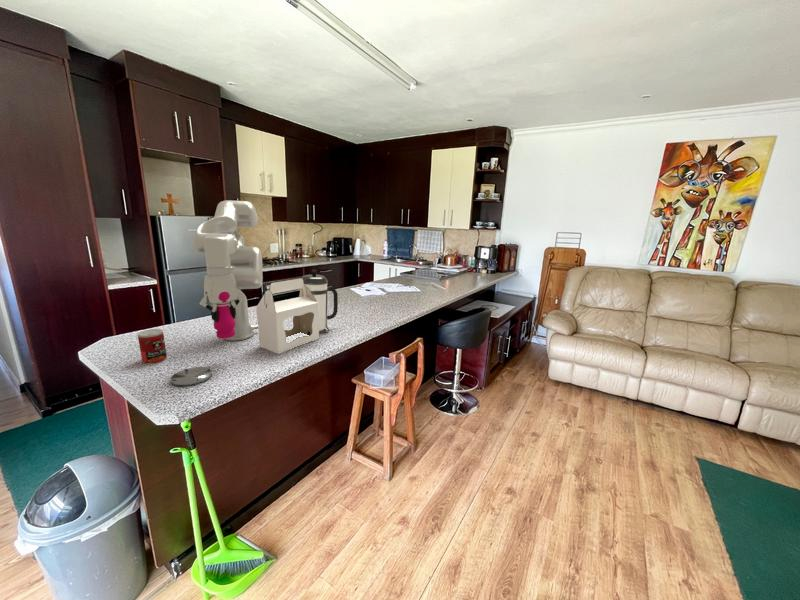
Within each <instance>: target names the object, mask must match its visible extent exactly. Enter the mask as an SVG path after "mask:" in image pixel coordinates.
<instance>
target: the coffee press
mask: <svg viewBox="0 0 800 600" xmlns="http://www.w3.org/2000/svg"><path fill="white" fill-rule="evenodd" d="M301 278H302V279H303V283H304V284H308V288H309V290H310V291H311V293H312V294H313V296H314V297H315V299H316V300H317V302H318V323H319V332H320V331H321V332H322V331H328V332H327V333H329V332H330V328H329V327H328V320H331V319H333V318H335V317H336V315H337V314H338V307H339V306H338V304H339V302H338V300H339V299H338V298H339V297H338V291H337V290H336V289H335V288H334V287H328V283H329V281H328V279H327V278H326V277H325V276H324V275H322V274H317V270H316V269H312V270H311V274H305V275H304V276H302V277H301ZM328 292H331V293H332V294H333V312H331V313H332V314H331V315H328ZM303 328H304V329H305V325H304V326H303ZM326 329H327V330H326ZM307 335H310V332H309V331H308V333H307Z"/></svg>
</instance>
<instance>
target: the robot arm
mask: <svg viewBox="0 0 800 600" xmlns="http://www.w3.org/2000/svg"><path fill="white" fill-rule="evenodd" d="M258 223H259V215H258V212H257V211H256V208H255V206H254V204H253V203H251V202H250V201H247V200H230V199H228V200H226V199H225V200H223V201H222V200H221V201H220V202H219V203H217V206H216V210H215V213H214V217H212V218H210V219H208V220H206V221H203V222H202V223H200V224H199V225H198V226H197V228H196V229H195V230H196V231H195V233H194V235H193V249H194V250H195V252H197V254H198V253H199V254H200V255H204V257H205V265H206V273H207V274H206V275H204V282H203V291H204V292H203V295H204V296H203V297H202V299H201V300H200V302H199V305H201V306H202V307H204V308H206V309H208V310H209V311H210V315H211V320H212V321H213V322H214V321H215V322H218V321H219V320H218V312H217V308H216V307H217V304H218V303H222V301H221V300H219V298H218V297H219V294H220V293H222V292H228V293H229V294H230V298H229V299H228V300H227V302H228V301H230V304H229V309H230V313H231V314H232V316H233V318H234V320H235V323H236V325H235V327H234V328H233V329H234V330H235V335H234V336H233V337H230V338H223V339H224V340H225V341H231V342H232V341H233V342H236V341H238V342H239V341H243V340H248V339H250V338H251V337H253V336H254V330H258V324H250V320H249V308H248V299H247V296H246V295H245V293H244V292H243V291H242V290H253V289H260V288H262V285H263V279H264V276H263V255H262V252H261V250H260V248H259V247H257V246H245V237H244V236H243V235H242V234H241V233H240V232H239V231H238V230H237V228H256V227H257V225H258ZM208 302H209V304H207V303H208Z"/></svg>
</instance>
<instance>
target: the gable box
mask: <svg viewBox="0 0 800 600" xmlns="http://www.w3.org/2000/svg"><path fill="white" fill-rule="evenodd" d="M267 287H268V290H266V291H264V294H263V296H262V298H261V299H260V300H259V302H258V304H257V305H256V317H257V319H256V320H257V325H258V329H257V331H258V346H259V347H260V348H263V349H265V350H268V351H270V352H272V353H276V354H278V353H279V354H282V353H285V352H287V350H288V351H290V350H292V348H293V349H295V348H294V347H296V348H298V347H297V346H299V345H302V344H304V345H306V344H305V343H307V344H309V343H308V342H310V341H313V340H315V341H317V340H316V339H318V338H319V339H320V331H319V323H318V302H317V300H316V299H315V297H314V296H313V294H312V293H311V291H310V290H309V288H308V284H304V283H303V279H302V277H301V278H293V279H287V280H279V281H276V282H275V281H274V282H271V283H270V284H268V285H267ZM295 290H299V295H298V297H296V298H295V297H294V298H290V299H285V300H280V301H276V302H275V300H274V295H275V294H279V293H283V292H290V291H295ZM290 317H293V318H292V324H293V325H292V326H293V327H292V328H291V329H284V325H283V323H284V321H285V320H286V319H287V318H290ZM304 325H305V329H304V328H303V326H304ZM308 331H309V332H310V335H309V336H303V337H298V338H296V339H295V340H293V341H292V342H290V343H286V337H288V336H291V335H294V334H297V333H300V332H301V333H304V334H307V333H308ZM319 339H318V340H319ZM313 342H314V341H313ZM310 343H311V342H310ZM302 346H303V345H302ZM299 347H300V346H299ZM289 349H290V350H289ZM284 351H285V352H284Z"/></svg>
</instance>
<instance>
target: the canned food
mask: <svg viewBox="0 0 800 600" xmlns="http://www.w3.org/2000/svg"><path fill="white" fill-rule="evenodd" d="M137 339H138V345H139V351H140V357H141V361H142V362H144V364H146V363H147V365H148V363H152V364H156V363H157V362H158V363H161V362H163V361H165V360H166V359H167V357H168V355H167V350H166V342H165V336H164V331H163V329H160V328H151V329H146V330H143V331H139V332H138V333H137Z"/></svg>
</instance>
